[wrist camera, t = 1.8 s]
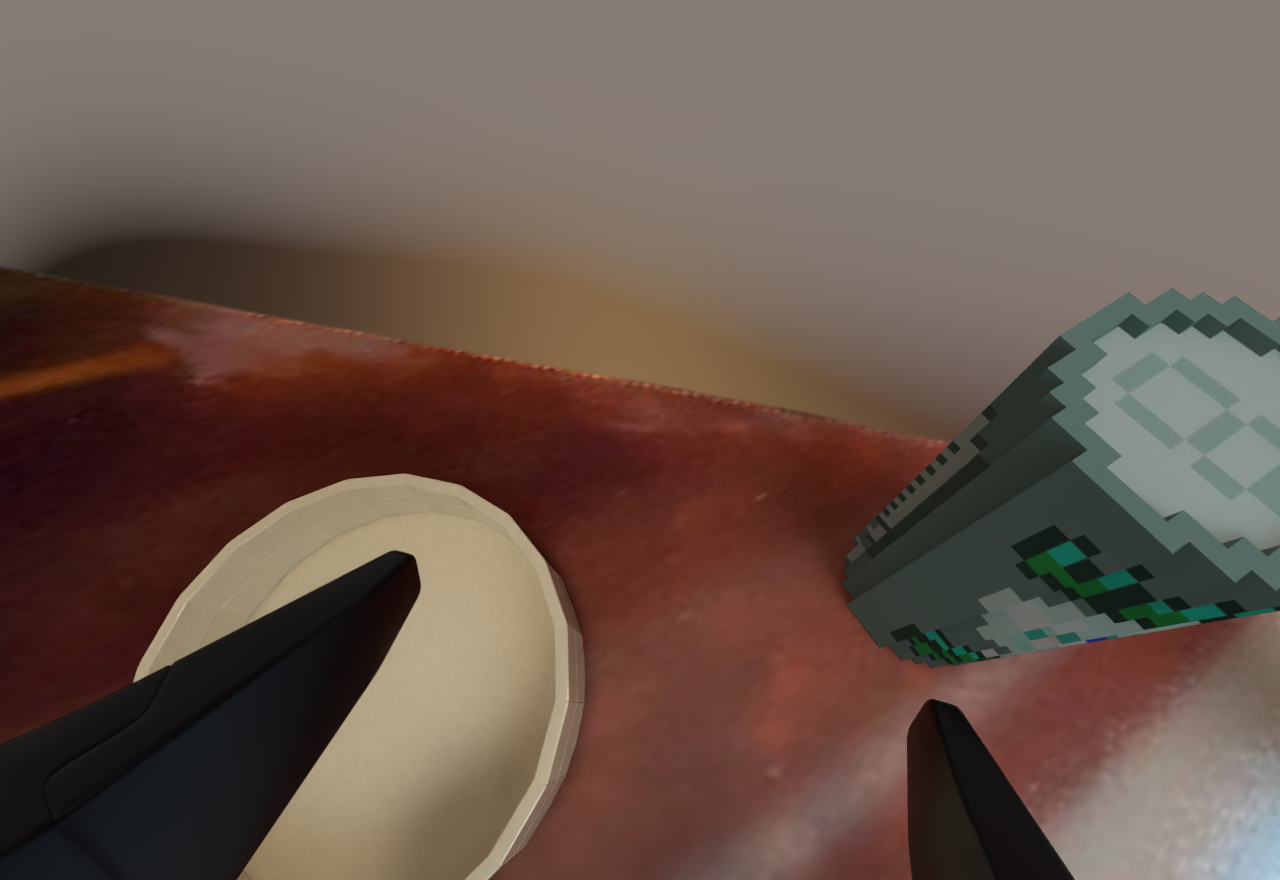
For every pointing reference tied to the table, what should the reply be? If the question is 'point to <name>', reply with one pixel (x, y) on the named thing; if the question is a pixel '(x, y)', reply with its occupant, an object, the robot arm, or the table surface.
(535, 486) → the table surface
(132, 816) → the robot arm
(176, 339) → the table surface
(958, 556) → the can
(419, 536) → the pan
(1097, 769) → the table surface
